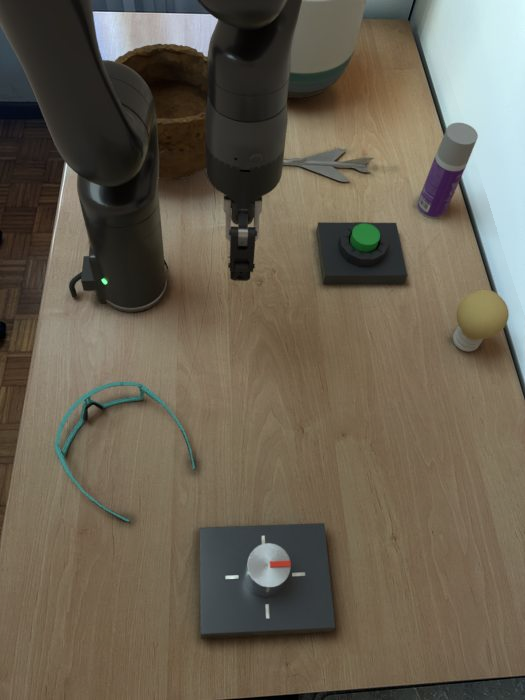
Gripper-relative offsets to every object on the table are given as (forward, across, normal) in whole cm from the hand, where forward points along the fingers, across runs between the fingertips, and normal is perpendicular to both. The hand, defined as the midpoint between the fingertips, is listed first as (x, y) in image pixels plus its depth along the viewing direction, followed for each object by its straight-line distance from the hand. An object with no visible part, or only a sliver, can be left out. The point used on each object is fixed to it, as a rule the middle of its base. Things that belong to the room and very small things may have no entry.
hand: (240, 248), depth 76 cm
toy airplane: (+18, -32, +15) cm, 40 cm away
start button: (+14, -13, +18) cm, 27 cm away
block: (+18, -13, +18) cm, 29 cm away
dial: (+14, +33, +3) cm, 36 cm away
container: (+18, -24, +31) cm, 43 cm away
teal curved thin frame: (+17, +18, -13) cm, 28 cm away
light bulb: (+18, +1, +32) cm, 37 cm away
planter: (+18, -53, +9) cm, 57 cm away
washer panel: (+17, +33, +3) cm, 38 cm away
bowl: (+17, -32, -11) cm, 38 cm away
